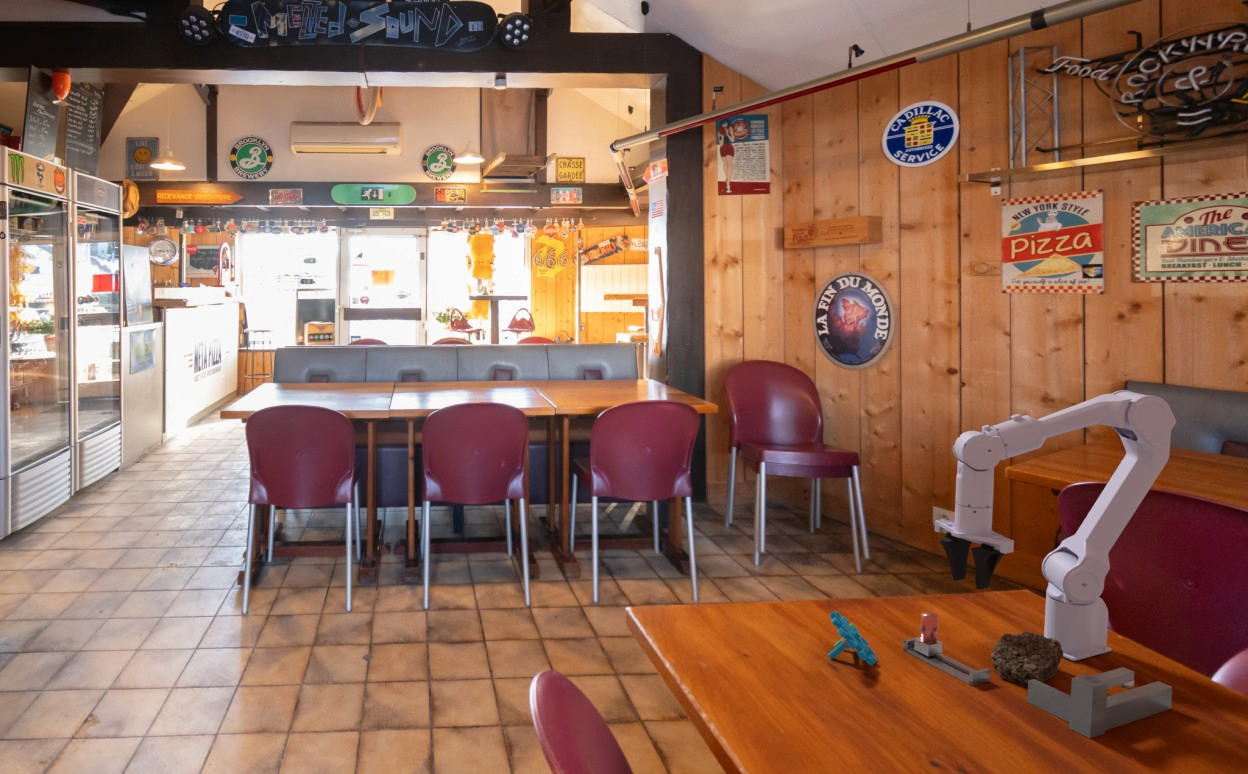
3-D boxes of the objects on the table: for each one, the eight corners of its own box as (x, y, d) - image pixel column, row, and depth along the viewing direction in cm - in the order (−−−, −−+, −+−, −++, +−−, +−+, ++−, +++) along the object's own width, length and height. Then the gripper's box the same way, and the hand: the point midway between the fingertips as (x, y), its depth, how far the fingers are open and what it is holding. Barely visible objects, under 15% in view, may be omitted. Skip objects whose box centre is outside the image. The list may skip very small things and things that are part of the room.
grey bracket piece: (1103, 679, 125) (1106, 635, 124) (1174, 710, 115) (1177, 662, 114) (1021, 703, 117) (1023, 656, 116) (1089, 738, 108) (1093, 687, 107)
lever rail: (920, 646, 137) (920, 636, 136) (989, 681, 124) (990, 669, 124) (903, 650, 135) (904, 639, 135) (972, 685, 123) (972, 674, 122)
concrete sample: (1014, 652, 135) (1015, 622, 135) (1075, 675, 127) (1077, 643, 126) (972, 668, 129) (973, 637, 128) (1033, 694, 120) (1035, 661, 120)
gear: (880, 667, 125) (834, 615, 127) (850, 691, 126) (805, 639, 129) (881, 649, 135) (838, 601, 138) (853, 671, 137) (812, 623, 139)
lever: (928, 646, 135) (929, 609, 134) (942, 653, 132) (943, 616, 131) (914, 649, 133) (915, 612, 133) (928, 656, 131) (929, 618, 130)
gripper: (922, 497, 140) (919, 574, 142) (993, 516, 127) (989, 601, 129) (952, 493, 143) (949, 568, 145) (1024, 512, 130) (1020, 594, 132)
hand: (970, 583), depth 137 cm, fingers open, 4 cm apart
